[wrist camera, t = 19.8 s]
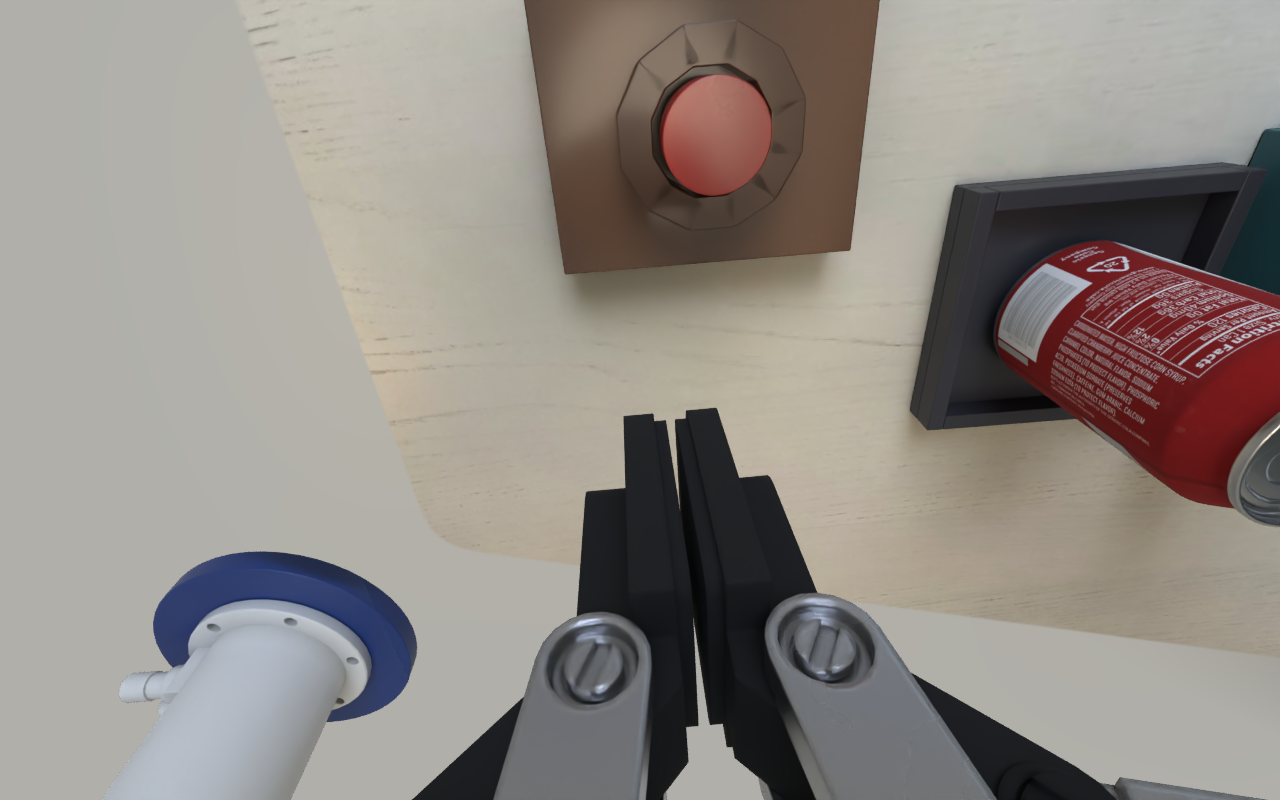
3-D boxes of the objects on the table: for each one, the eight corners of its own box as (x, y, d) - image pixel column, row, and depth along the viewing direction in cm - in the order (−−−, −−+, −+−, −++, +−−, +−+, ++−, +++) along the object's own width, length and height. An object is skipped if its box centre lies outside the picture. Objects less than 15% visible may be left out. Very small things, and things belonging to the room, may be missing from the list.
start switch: (569, 258, 25) (561, 287, 22) (530, -12, 20) (512, -31, 17) (831, 236, 25) (865, 261, 22) (859, -42, 20) (908, -67, 17)
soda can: (954, 334, 27) (1164, 495, 16) (1067, 207, 24) (1409, 306, 14) (1049, 390, 29) (1292, 568, 18) (1165, 279, 26) (1532, 415, 15)
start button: (661, 191, 20) (665, 200, 19) (655, 79, 19) (659, 79, 17) (759, 183, 20) (770, 191, 19) (762, 69, 19) (775, 68, 17)
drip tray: (909, 410, 30) (927, 431, 28) (954, 184, 24) (980, 193, 22) (1124, 393, 30) (1155, 412, 28) (1222, 162, 24) (1270, 168, 22)
